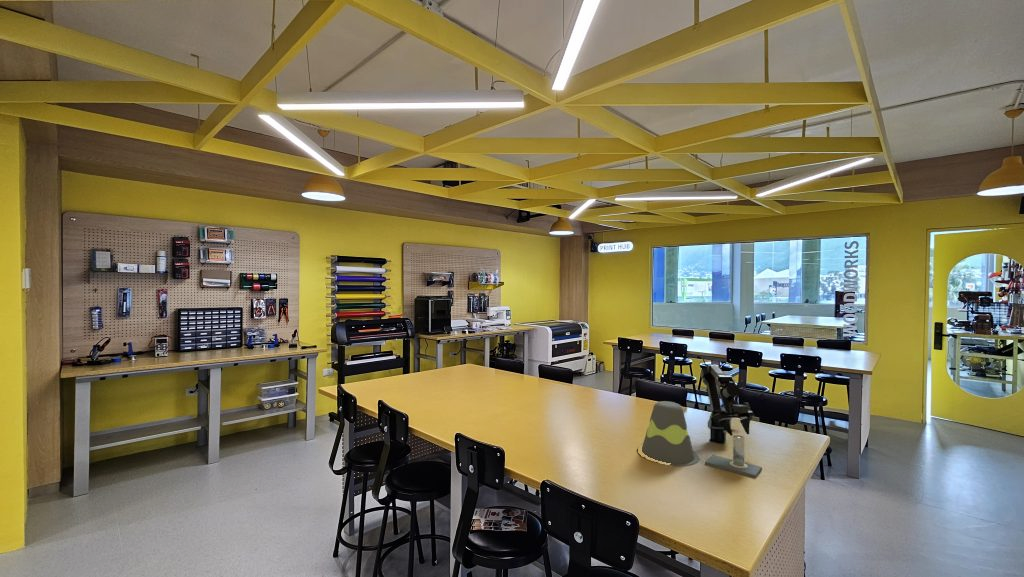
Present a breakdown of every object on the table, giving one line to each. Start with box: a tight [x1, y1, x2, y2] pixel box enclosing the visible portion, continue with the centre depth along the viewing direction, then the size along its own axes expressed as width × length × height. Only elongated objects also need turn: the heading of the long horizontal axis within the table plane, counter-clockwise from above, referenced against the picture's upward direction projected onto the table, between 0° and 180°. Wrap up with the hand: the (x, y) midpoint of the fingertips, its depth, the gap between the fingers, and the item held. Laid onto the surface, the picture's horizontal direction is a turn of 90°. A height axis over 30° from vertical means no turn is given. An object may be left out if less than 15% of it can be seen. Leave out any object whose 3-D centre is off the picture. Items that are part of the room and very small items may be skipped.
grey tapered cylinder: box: [642, 400, 701, 467], centre depth 200 cm, size 28×28×24 cm
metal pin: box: [732, 434, 745, 467], centre depth 185 cm, size 4×4×12 cm
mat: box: [704, 454, 763, 479], centre depth 185 cm, size 20×11×1 cm, turn 48°
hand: (739, 434), depth 196 cm, fingers open, 9 cm apart
